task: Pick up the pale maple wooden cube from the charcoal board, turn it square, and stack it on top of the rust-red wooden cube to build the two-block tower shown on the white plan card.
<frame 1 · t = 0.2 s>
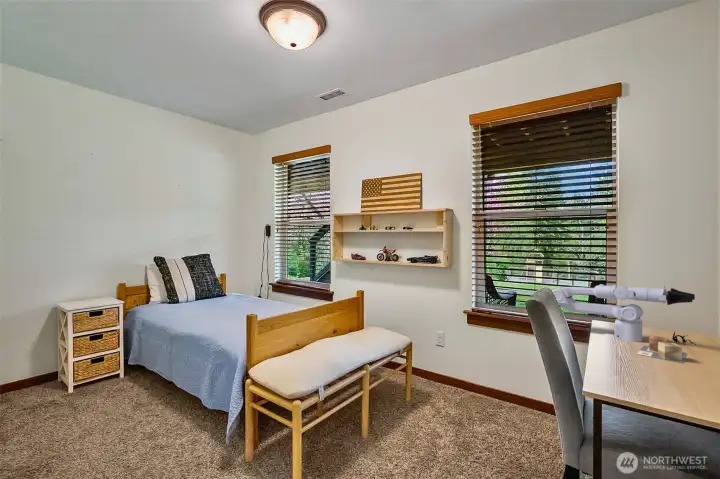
hand: (693, 298, 135), 21 cm above the table, tool horizontal, fingers open, 7 cm apart
creature: (684, 345, 145), on the table
maple block: (669, 358, 127), point 1 cm above the table, touching build board
rust block: (658, 350, 135), point 1 cm above the table, touching build board
build board: (662, 356, 131), on the table
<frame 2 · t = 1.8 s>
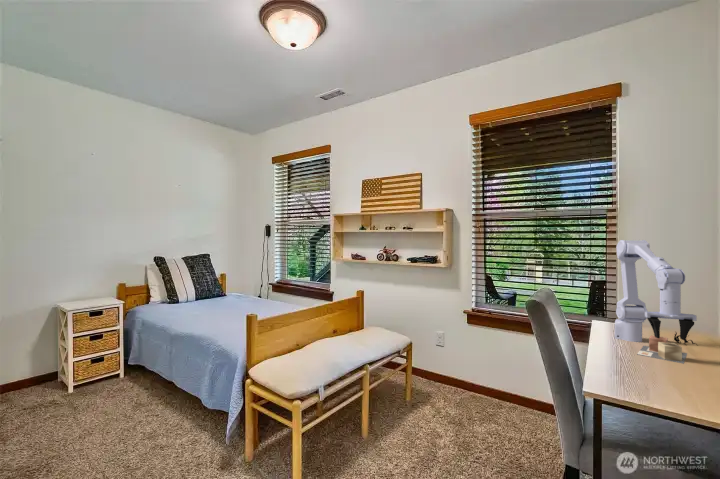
hand: (669, 338, 127), 8 cm above the table, tool pointing down, fingers open, 7 cm apart
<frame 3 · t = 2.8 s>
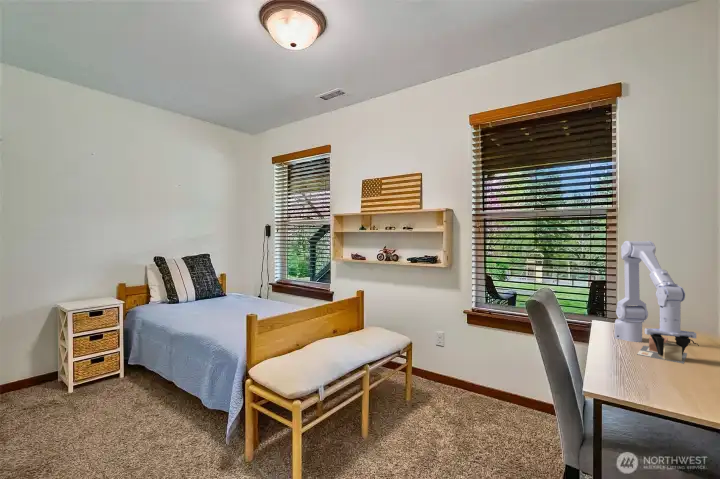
hand: (669, 355, 127), 2 cm above the table, tool pointing down, fingers closed on maple block, 5 cm apart
maple block: (669, 358, 127), point 1 cm above the table, touching build board, gripper
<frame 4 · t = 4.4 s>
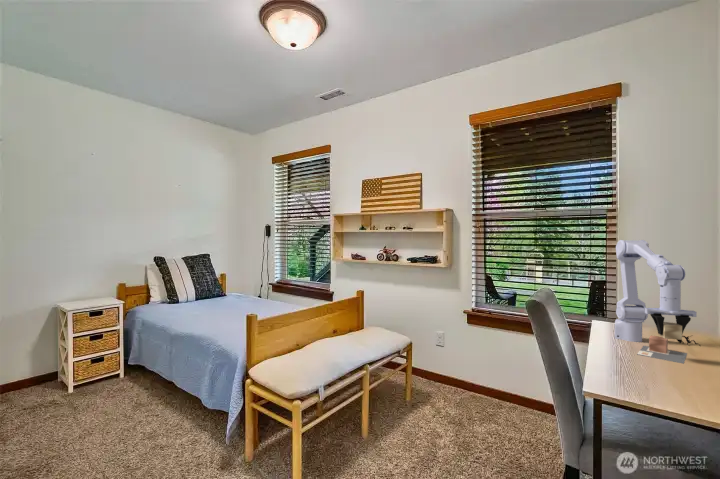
hand: (669, 334, 127), 9 cm above the table, tool pointing down, fingers closed on maple block, 5 cm apart
maple block: (669, 337, 127), point 8 cm above the table, touching gripper
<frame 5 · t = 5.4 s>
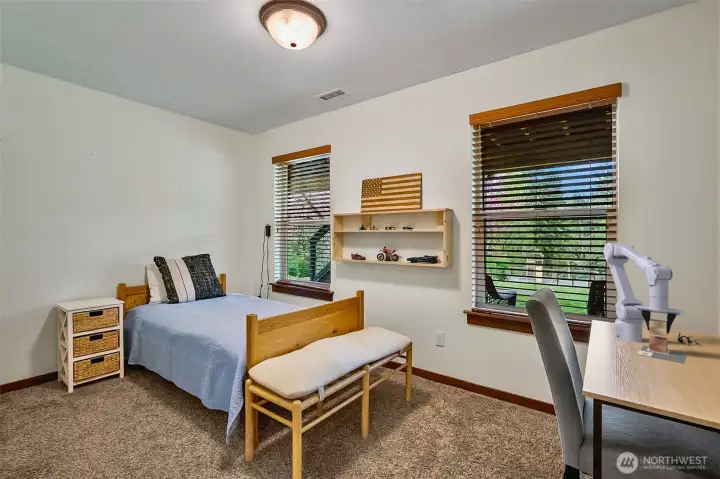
hand: (658, 331, 135), 8 cm above the table, tool pointing down, fingers closed on maple block, 5 cm apart
maple block: (658, 333, 135), point 7 cm above the table, touching gripper
when the fingers open (8 cm above the table, at t = 6.0 s): maple block stays where it is, resting on rust block.
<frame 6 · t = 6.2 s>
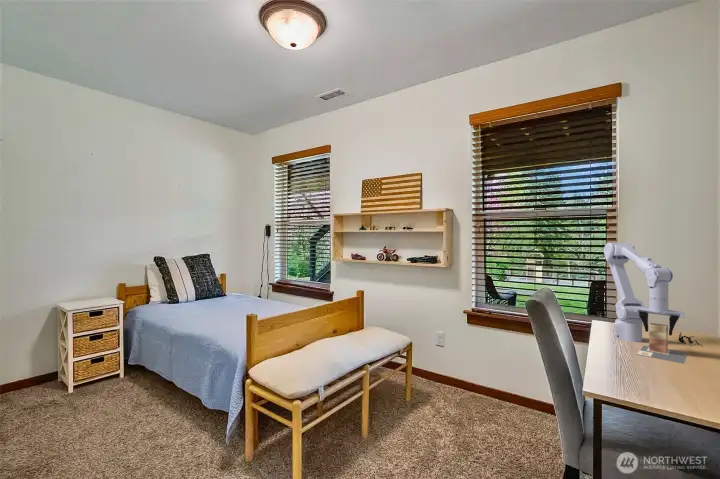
hand: (658, 333, 135), 8 cm above the table, tool pointing down, fingers open, 6 cm apart
maple block: (658, 337, 135), point 6 cm above the table, touching rust block
rust block: (658, 350, 135), point 1 cm above the table, touching build board, maple block
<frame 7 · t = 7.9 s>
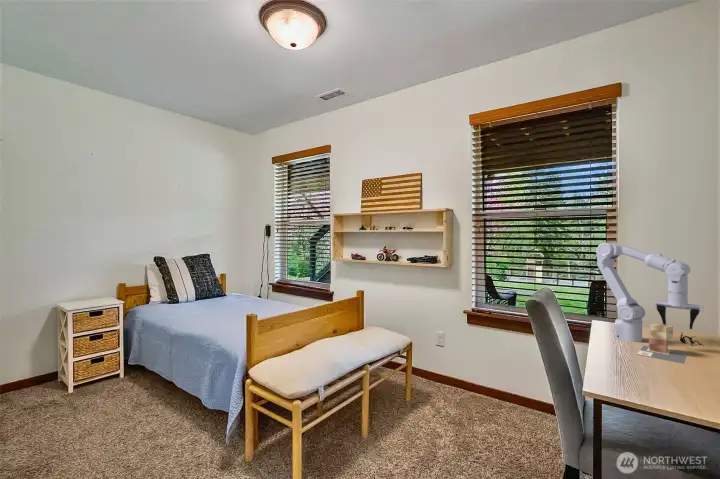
hand: (677, 326, 136), 10 cm above the table, tool pointing down, fingers open, 7 cm apart
maple block: (661, 338, 135), point 6 cm above the table, touching rust block
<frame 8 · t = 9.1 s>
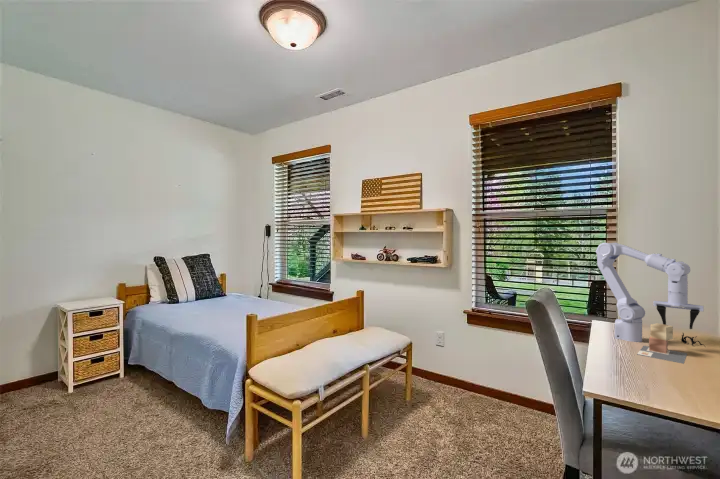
hand: (677, 326, 136), 10 cm above the table, tool pointing down, fingers open, 7 cm apart
at the end: maple block 1.0 cm off-centre on the rust block, point 5.0 cm above the rust block's base; maple block tilted 0°; rust block moved 0.0 cm from its start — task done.
